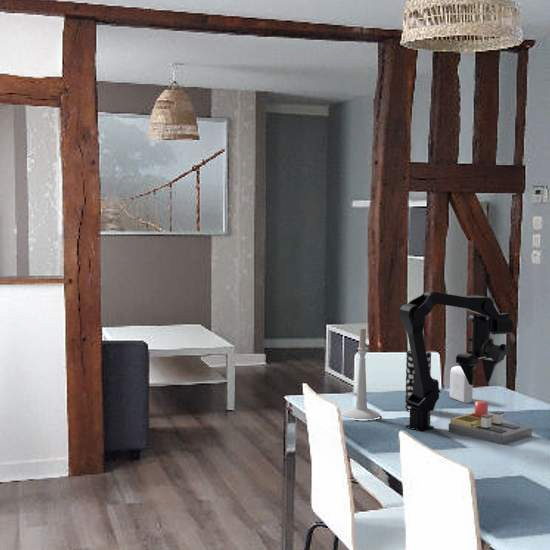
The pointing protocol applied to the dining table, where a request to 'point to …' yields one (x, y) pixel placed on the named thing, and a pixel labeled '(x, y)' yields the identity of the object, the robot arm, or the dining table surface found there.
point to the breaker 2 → (498, 417)
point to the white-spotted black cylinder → (412, 374)
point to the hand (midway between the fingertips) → (479, 383)
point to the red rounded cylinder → (481, 408)
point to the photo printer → (460, 385)
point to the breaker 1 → (486, 420)
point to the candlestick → (361, 387)
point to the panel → (488, 429)
